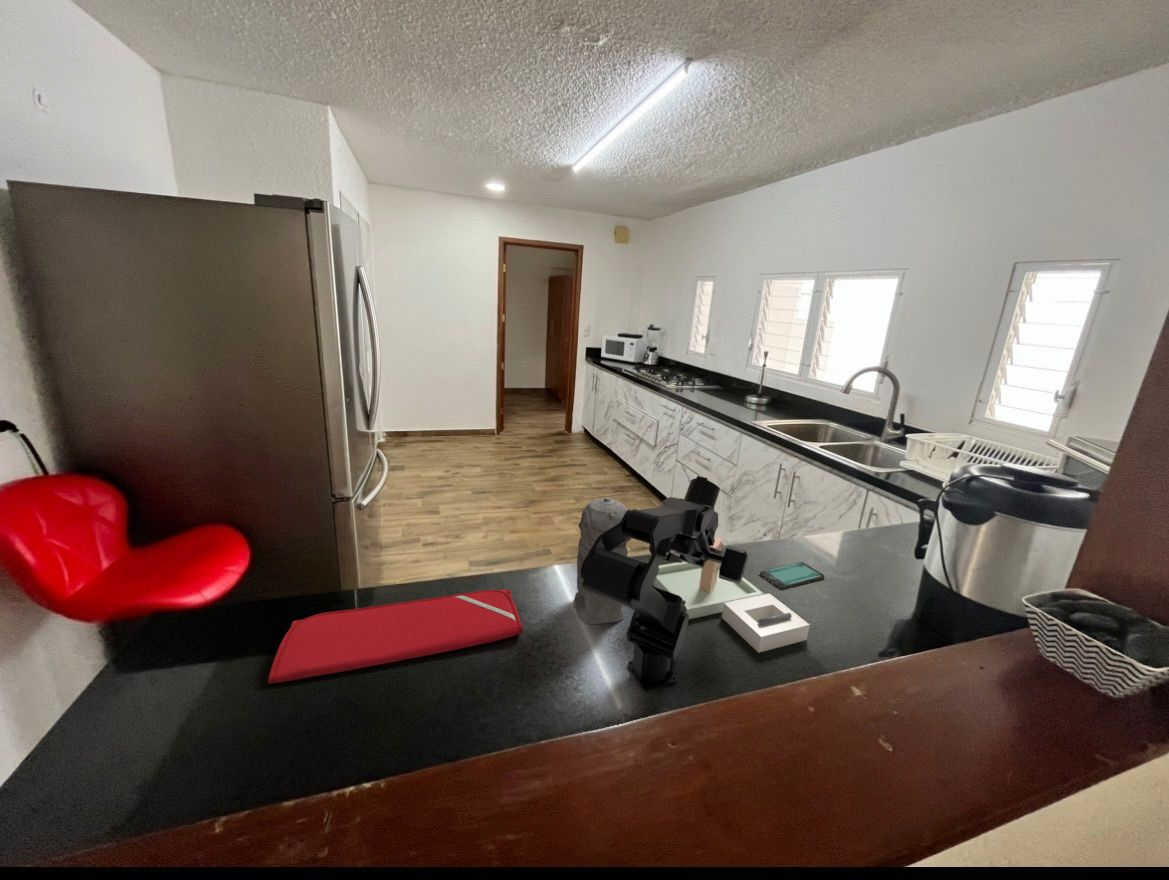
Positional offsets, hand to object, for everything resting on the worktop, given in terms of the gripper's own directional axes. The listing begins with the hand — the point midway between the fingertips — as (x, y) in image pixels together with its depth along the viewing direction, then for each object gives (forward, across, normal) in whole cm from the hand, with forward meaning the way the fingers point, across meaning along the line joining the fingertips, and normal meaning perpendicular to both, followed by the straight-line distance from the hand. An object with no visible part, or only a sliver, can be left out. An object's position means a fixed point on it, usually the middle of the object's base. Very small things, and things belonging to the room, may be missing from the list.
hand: (702, 567), depth 98 cm
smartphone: (+25, -16, -11) cm, 31 cm away
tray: (+10, +1, +2) cm, 11 cm away
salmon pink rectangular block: (+10, 0, +1) cm, 11 cm away
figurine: (-4, +17, +17) cm, 24 cm away
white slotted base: (+6, -14, +6) cm, 16 cm away
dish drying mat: (-23, +42, +37) cm, 61 cm away
